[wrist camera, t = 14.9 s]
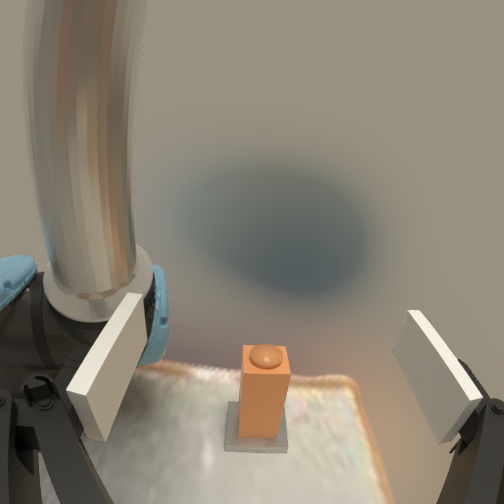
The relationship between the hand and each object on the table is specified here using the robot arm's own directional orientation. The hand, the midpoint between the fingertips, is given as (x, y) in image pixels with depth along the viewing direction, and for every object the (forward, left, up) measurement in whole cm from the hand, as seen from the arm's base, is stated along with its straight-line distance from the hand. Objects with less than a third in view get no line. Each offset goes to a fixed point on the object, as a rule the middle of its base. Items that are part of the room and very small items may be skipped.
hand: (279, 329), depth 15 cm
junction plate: (-11, +10, -28) cm, 32 cm away
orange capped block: (-11, +11, -26) cm, 30 cm away
